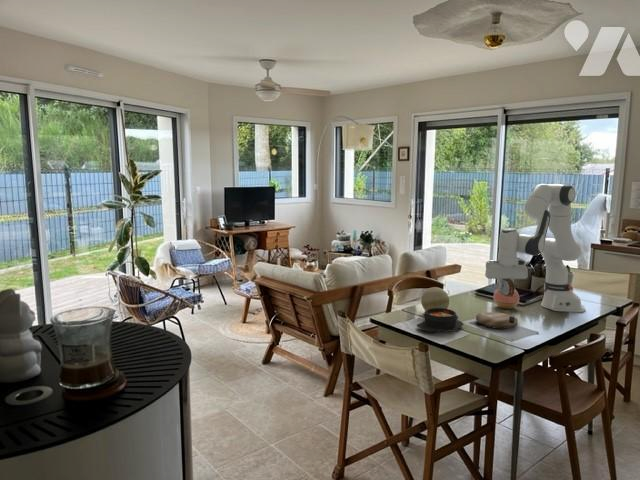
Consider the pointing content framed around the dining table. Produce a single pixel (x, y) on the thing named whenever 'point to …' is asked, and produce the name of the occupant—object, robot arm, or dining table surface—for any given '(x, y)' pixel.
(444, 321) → the casserole
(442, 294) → the decorative ball
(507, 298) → the vase
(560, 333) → the dining table surface
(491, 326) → the turntable base
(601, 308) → the dining table surface
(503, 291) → the tin
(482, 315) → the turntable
